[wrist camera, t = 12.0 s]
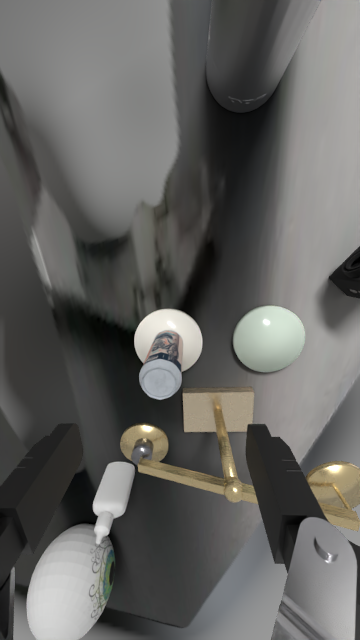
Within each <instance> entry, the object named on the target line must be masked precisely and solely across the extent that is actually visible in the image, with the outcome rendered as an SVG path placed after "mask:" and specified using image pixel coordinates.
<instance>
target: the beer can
mask: <svg viewBox="0 0 360 640" xmlns="http://www.w3.org/2000/svg"><path fill="white" fill-rule="evenodd" d="M182 356H183V340H182V337H181V336H180V335H179V334H178V333H177V332H175V331H172V330H164V331H161V332H159V333H158V334H157V335H156V337H155V338H154V341H153V343H152V345H151V348H150V350H149V352H148V355H147V357H146V359H145V362H144V364H143V366H142V369H141V371H140V374H139V381H140V384H141V387H142V389H143V390H144V391H145V393H146V394H147V395H148V396H149V397H151V398H155V399H159V400H162V399H165V398H168V397H171V396H172V395H173V394H175V393H176V392H177V391H178V389H179V388H180V386H181V382H182Z"/></svg>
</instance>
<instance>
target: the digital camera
mask: <svg viewBox="0 0 360 640" xmlns="http://www.w3.org/2000/svg"><path fill="white" fill-rule="evenodd" d="M329 279H330V280H331V281H332V282H333V283H334V284H335V285H336V286H337V287H338V288H339V289H341V290H342V291H343V292H344V293H345V294H346V295H347V296H351V297H356V298H360V247H359V248H358V249H357V250H356V251H355V252H354V253H353V254H351V255H350V256H349V257H348V258H347V259H346V260H345V261H344V262H343V263H342V264H341V265H340V266H339V267H338V268H337V269H336V270H335V271H334V272H333V273H332V274H331V275H330V276H329Z"/></svg>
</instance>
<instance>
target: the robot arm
mask: <svg viewBox="0 0 360 640" xmlns="http://www.w3.org/2000/svg"><path fill="white" fill-rule="evenodd" d="M320 2H321V0H212V8H211V18H210V28H209V37H208V48H207V59H206V77H207V83H208V86H209V89H210V91H211V93H212V95H213V97H214V98H215V100H216V101H217V102H218V103H219V104H220V105H221V106H222V107H224V108H225V109H227V110H229V111H232V112H238V113H244V112H249V111H252V110H254V109H257V108H258V107H260V106H261V105H262V104H264V103H265V102H266V101H267V100H268V99H269V98H270V97H271V95H272V94H273V92H274V90H275V89H276V87H277V85H278V83H279V81H280V79H281V78H282V76H283V74H284V72H285V70H286V68H287V66H288V64H289V62H290V60H291V58H292V56H293V54H294V53H295V51H296V49H297V47H298V45H299V43H300V41H301V39H302V37H303V35H304V33H305V31H306V29H307V27H308V25H309V23H310V21H311V19H312V17H313V15H314V13H315V11H316V9H317V8H318V6H319V4H320ZM82 456H83V446H82V441H81V437H80V432H79V427H78V425H77V424H75V423H73V424H58V425H57V427H56V428H55V429H54V430H53V431H52V433H51V434H50V436H45V437H44V438H42V439H41V440H40V441H39V442H37V443H36V444H35V445H34V446H33V447H32V448H31V449H30V450H29V452H28V453H27V454H26V455H25V458H24V459H22V460H21V462H20V463H19V464H18V465H17V468H16V469H14V470H13V472H12V473H11V474H10V475H9V476H8V478H7V479H6V480H5V481H4V483H3V484H2V485H1V486H0V640H13V623H14V585H15V568H14V565H15V563H16V561H17V560H18V558H19V556H20V554H24V555H33V554H34V552H35V550H36V548H37V546H38V544H39V542H40V540H41V538H42V536H43V534H44V532H45V530H46V528H47V527H48V525H49V523H50V521H51V519H52V517H53V515H54V513H55V511H56V509H57V507H58V505H59V503H60V501H61V499H62V498H63V496H64V494H65V492H66V490H67V488H68V486H69V484H70V482H71V480H72V478H73V476H74V474H75V472H76V470H77V468H78V467H79V465H80V462H81V460H82ZM246 460H247V465H248V469H249V472H250V476H251V479H252V483H253V487H254V490H255V494H256V497H257V501H258V505H259V508H260V512H261V515H262V519H263V523H264V526H265V530H266V533H267V537H268V540H269V544H270V548H271V551H272V555H273V558H274V562H275V563H277V564H285V567H286V570H287V573H288V576H287V580H286V584H285V589H284V593H283V597H282V601H281V604H280V606H279V610H278V614H277V618H276V622H275V626H274V630H273V634H272V638H271V640H360V546H357V545H355V544H354V543H352V542H350V541H349V540H347V539H346V537H345V536H344V535H343V534H342V533H341V532H340V531H339V530H338V529H337V528H336V527H335V526H333V525H332V524H330V522H329V521H328V520H327V518H326V516H325V515H324V513H323V511H322V509H321V507H320V505H319V503H318V501H317V499H316V497H315V495H314V494H313V492H312V490H311V488H310V486H309V484H308V482H307V480H306V478H305V476H304V474H303V472H301V468H300V467H299V465H298V463H297V462H296V459H295V457H294V455H293V453H292V451H291V449H290V447H289V446H288V445H287V444H286V443H285V442H284V441H283V440H282V439H281V438H280V437H271V435H270V433H269V430H268V428H267V426H266V425H265V424H248V426H247V438H246Z"/></svg>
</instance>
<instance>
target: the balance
mask: <svg viewBox="0 0 360 640" xmlns="http://www.w3.org/2000/svg"><path fill="white" fill-rule="evenodd" d="M253 402H254V391H253V389H252V387H224V388H183V413H184V432H217V438H218V443H219V449H220V455H221V461H222V467H223V473H224V478H220V477H216V476H212V475H208V474H204V473H200V472H196V471H192V470H188V469H184V468H180V467H176V466H172V465H168V464H164V463H160V462H159V461H161V460H162V459H163V458H164V457H165V456H166V454H167V451H168V444H169V442H168V438H167V436H166V434H165V432H164V431H163V430H162V429H160V428H159V427H157V426H156V425H153V424H150V423H137V424H134V425H131V426H130V427H128V428H127V429H126V430H125V431H124V433H123V435H122V438H121V442H120V446H121V450H122V452H123V454H124V455H125V456H126V457H127V458H128V459H129V460H131V461H133V463H135V464H136V465H138V472H142V473H145V474H149V475H153V476H156V477H160V478H164V479H167V480H171V481H175V482H178V483H182V484H186V485H189V486H193V487H197V488H200V489H204V490H208V491H212V492H215V493H219V494H223V495H225V497H226V498H227V499H228V500H229V501H231V502H234V503H236V502H239V501H240V500H245V501H248V502H252V503H256V504H258V501H257V497H256V494H255V490H254V487H253V486H252V485H248V484H244V483H241V481H240V480H239V479H238V477H237V472H236V468H235V464H234V459H233V455H232V451H231V446H230V442H229V438H228V433H227V432H247V426H248V424H252V420H253ZM305 478H306V480H307V482H308V484H309V486H310V488H311V490H312V492H313V494H314V495H315V497H316V499H317V501H318V503H319V505H320V507H321V509H322V511H323V513H324V515H325V516H326V518H327V520H328V521H329V522H330V524H333V525H337V526H340V527H344V528H348V529H351V530H355V531H358V530H359V526H360V520H359V518H358V516H357V513H356V512H355V511H352V508H354V507H356V506H357V505H359V504H360V468H358V467H357V466H355V465H354V464H351V463H348V462H343V461H333V462H328V463H324V464H322V465H319V466H317V467H316V468H314V469H313V470H311V471H310V472H309V473H308V474H307V476H306V477H305Z"/></svg>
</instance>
